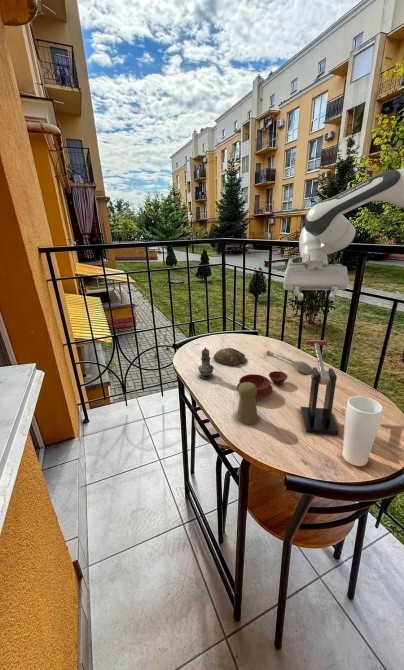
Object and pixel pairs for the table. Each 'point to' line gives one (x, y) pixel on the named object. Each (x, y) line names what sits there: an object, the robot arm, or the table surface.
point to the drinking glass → (360, 429)
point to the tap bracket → (320, 417)
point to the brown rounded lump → (229, 356)
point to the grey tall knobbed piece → (205, 366)
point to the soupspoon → (297, 364)
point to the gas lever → (320, 361)
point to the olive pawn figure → (247, 403)
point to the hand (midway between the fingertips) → (316, 299)
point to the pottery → (264, 382)
